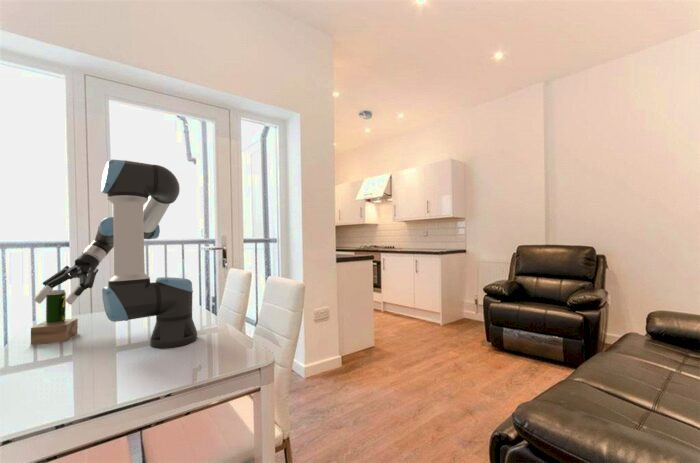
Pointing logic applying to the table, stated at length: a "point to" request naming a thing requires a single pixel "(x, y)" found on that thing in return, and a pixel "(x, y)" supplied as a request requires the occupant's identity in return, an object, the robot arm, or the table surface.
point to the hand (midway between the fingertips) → (52, 302)
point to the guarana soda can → (55, 307)
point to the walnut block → (54, 332)
